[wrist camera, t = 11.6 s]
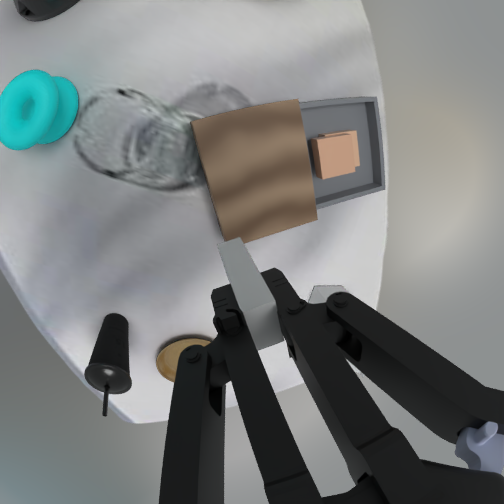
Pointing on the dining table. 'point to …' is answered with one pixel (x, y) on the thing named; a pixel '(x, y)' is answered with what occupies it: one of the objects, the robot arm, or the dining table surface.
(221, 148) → the brown wooden board
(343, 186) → the tray
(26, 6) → the robot arm
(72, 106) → the donuts
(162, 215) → the dining table surface
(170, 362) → the plant saucer
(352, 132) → the rear tile
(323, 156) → the front tile
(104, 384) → the drinking cup
